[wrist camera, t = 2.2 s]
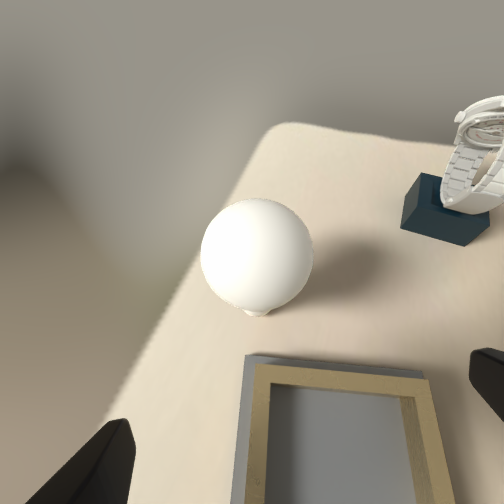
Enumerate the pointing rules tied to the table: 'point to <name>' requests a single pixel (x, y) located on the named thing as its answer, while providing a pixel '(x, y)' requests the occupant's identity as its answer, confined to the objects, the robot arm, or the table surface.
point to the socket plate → (337, 436)
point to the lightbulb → (257, 255)
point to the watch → (462, 180)
